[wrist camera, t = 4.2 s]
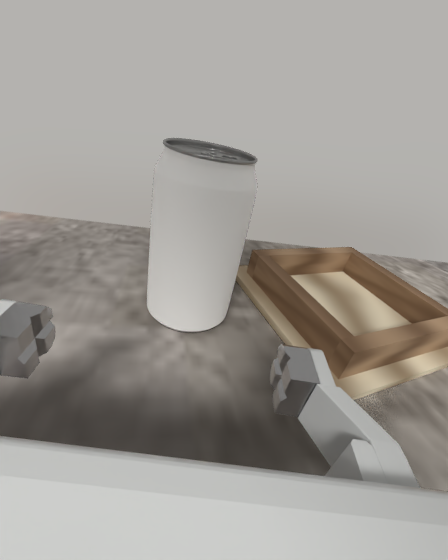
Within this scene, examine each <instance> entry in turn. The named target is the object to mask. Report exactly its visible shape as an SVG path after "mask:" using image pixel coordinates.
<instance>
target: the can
mask: <svg viewBox="0 0 448 560" xmlns="http://www.w3.org/2000/svg"><path fill="white" fill-rule="evenodd" d="M163 144H164V145H165V146H164V150H163V152H162V154H161V156H160V158H159V160H158V162H157V163H156V166H155V170H154V178H153V194H152V211H151V229H150V247H149V266H148V286H147V308H148V310H149V312H150V314H151V315H152V316H153V317H154V318H155V319H156V320H157V321H158V322H159V323H161V324H162V325H164V326H165V327H167V328H170V329H172V330H175V331H179V332H186V333H196V332H203V331H206V330H209V329H211V328H213V327H215V326H217V325H218V324H220V323H221V322H222V321H223V320H224V318H225V317H226V314H227V311H228V307H229V303H230V300H231V296H232V292H233V288H234V284H235V280H236V276H237V272H238V268H239V264H240V260H241V256H242V252H243V247H244V243H245V239H246V235H247V231H248V227H249V223H250V219H251V215H252V210H253V206H254V202H255V198H256V193H257V179H256V174H255V163H256V162H257V158H256V157H255V156H253V155H251V154H249V153H247V152H244V151H241V150H238V149H234V148H231V147H227V146H223V145H219V144H214V143H210V142H204V141H198V140H191V139H182V138H168V139H165V140H163Z"/></svg>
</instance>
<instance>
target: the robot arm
mask: <svg viewBox="0 0 448 560" xmlns="http://www.w3.org/2000/svg"><path fill="white" fill-rule="evenodd" d="M52 317H53V313H52V309H51V308H49V307H46V306H41V305H35V304H30V303H25V302H17V301H12V300H7V299H2V300H0V375H1V376H10V377H19V378H29V376H30V375H31V374H32V372H33V371H34V370H35V368H36V367H37V366H38V364H39V363H40V361H39V356H41V355H43V354H45V353H47V352H48V351H49V349H50V348H51V346H52V344H53V342H54V339H55V332H56V331H55V326H54V325H53V324H52V323H51V321H50V319H51V318H52ZM277 355H278V358H276V359H274V360H273V363H272V366H271V371H270V383H271V386H272V388H273V389H274V390H275V391H274V393H273V396H272V398H273V405H274V412H275V413H277V414H283V415H289V416H295V417H298V419H299V421H300V422H301V424H302V425H303V427H304V428H305V430H306V431H307V433H308V434H309V436H310V437H311V438H312V440H313V441H314V443H315V444H316V446H317V447H318V449H319V450H320V452H321V453H322V455H323V456H324V458H325V459H326V461H327V462H328V464H329V465H330V466H331V468H330V469H329V471H328V472H327V473H326V475H325V476H320V475H312V474H304V473H296V472H288V471H280V470H272V469H264V468H256V467H248V466H240V465H232V464H223V463H215V462H207V461H199V460H191V459H183V458H175V457H167V456H159V455H151V454H142V453H134V452H126V451H118V450H110V449H102V448H94V447H86V446H78V445H70V444H62V443H53V442H45V441H37V440H29V439H21V438H13V437H5V436H0V560H448V491H441V490H433V489H425V488H420V486H419V484H418V482H417V480H416V478H415V476H414V474H413V472H412V470H411V467H410V465H409V463H408V461H407V459H406V457H405V455H404V453H403V451H402V449H401V447H400V445H399V444H398V443H397V442H396V441H395V440H394V439H393V438H392V437H391V436H390V435H389V434H388V433H387V432H386V431H385V430H384V429H383V428H382V427H381V426H380V425H379V424H378V423H377V422H376V421H374V420H373V419H372V418H371V417H370V416H369V415H368V414H367V413H366V412H365V411H364V410H363V409H362V408H361V407H360V406H359V405H358V404H357V403H356V402H355V401H354V400H353V399H352V398H351V397H350V396H349V395H348V394H347V393H345V392H344V391H343V390H342V389H341V388H340V387H336V385H335V382H334V380H333V377H332V374H331V372H330V369H329V366H328V364H327V361H326V358H325V356H324V353H323V351H322V350H318V349H312V348H304V347H297V346H290V345H284V344H281V345H280V346H279V348H278V350H277Z"/></svg>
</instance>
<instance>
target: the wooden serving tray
mask: <svg viewBox="0 0 448 560" xmlns="http://www.w3.org/2000/svg"><path fill="white" fill-rule="evenodd" d="M236 281H237V282H238V284H239V285H240V286H241V288H242V289H243V290H244V292H245V293H246V294H247V295H248V297H249V298H250V299H251V301H252V302H253V303H254V305H255V306H256V307H257V308H258V310H259V311H260V312H261V314H262V315H263V316H264V317H265V319H266V320H267V321H268V323H269V324H270V325H271V327H272V328H273V329H274V330H275V332H276V333H277V334H278V336H279V337H280V338H281V339H282V341H283V342H284V343H285V345H290V346H297V347H304V348H312V349H318V350H322V351H323V353H324V356H325V358H326V361H327V364H328V366H329V369H330V372H331V374H332V377H333V380H334V382H335V385H336V387H340V388H341V389H342V390H343V391H344V392H345V393H347V394H348V395H349V396H350V397H351V398H352V399H353V400H356V399H359V398H362V397H365V396H368V395H370V394H373V393H376V392H379V391H382V390H384V389H387V388H390V387H393V386H396V385H399V384H401V383H404V382H407V381H410V380H413V379H416V378H418V377H421V376H424V375H427V374H430V373H432V372H435V371H438V370H441V369H444V368H447V367H448V309H447V308H446V307H444V306H442V305H441V304H439V303H438V302H436V301H435V300H433V299H432V298H430V297H428V296H427V295H425V294H424V293H422V292H421V291H419V290H418V289H416V288H414V287H413V286H411V285H410V284H408V283H407V282H405V281H403V280H402V279H400V278H399V277H397V276H396V275H394V274H393V273H391V272H389V271H388V270H386V269H385V268H383V267H382V266H380V265H379V264H377V263H375V262H374V261H372V260H371V259H369V258H368V257H366V256H365V255H363V254H361V253H360V252H358V251H357V250H355V249H354V248H352V247H338V248H302V249H265V250H252V254H251V257H250V261H249V265H239V268H238V272H237V276H236Z"/></svg>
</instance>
